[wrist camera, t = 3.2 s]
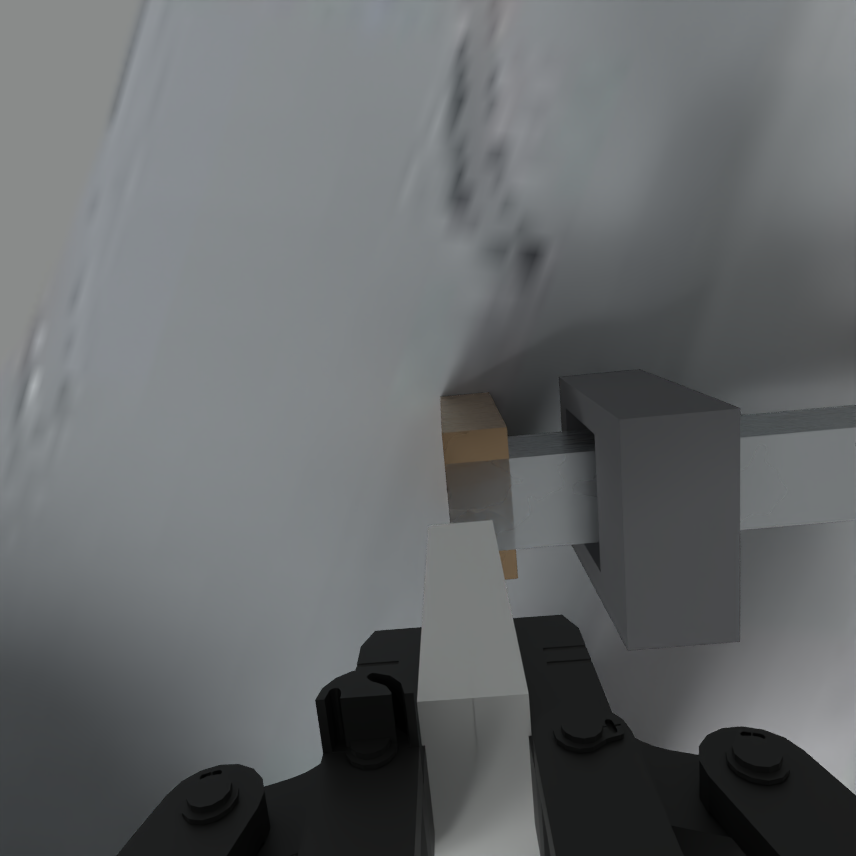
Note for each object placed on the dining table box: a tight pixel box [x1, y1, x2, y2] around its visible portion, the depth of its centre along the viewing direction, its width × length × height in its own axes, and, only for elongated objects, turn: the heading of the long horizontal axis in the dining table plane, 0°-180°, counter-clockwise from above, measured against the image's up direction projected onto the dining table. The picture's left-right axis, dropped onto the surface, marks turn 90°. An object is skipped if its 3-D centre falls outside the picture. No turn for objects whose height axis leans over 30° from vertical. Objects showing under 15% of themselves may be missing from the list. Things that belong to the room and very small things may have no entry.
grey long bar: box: [440, 392, 856, 579], centre depth 23 cm, size 26×5×7 cm, turn 95°
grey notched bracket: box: [559, 369, 740, 650], centre depth 21 cm, size 3×6×8 cm, turn 5°
